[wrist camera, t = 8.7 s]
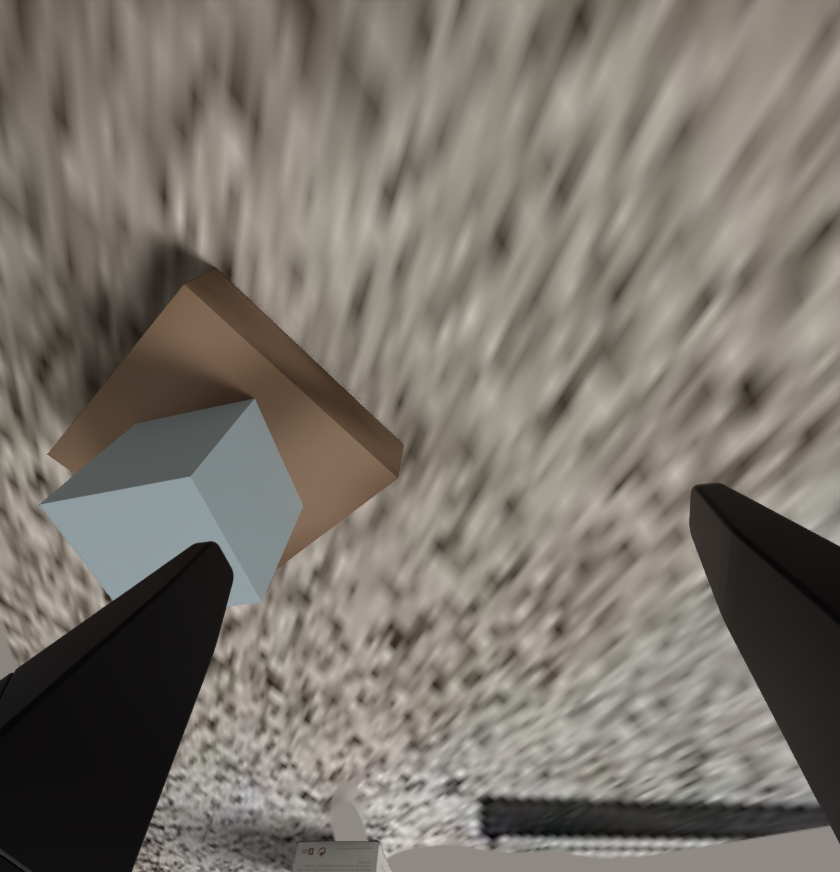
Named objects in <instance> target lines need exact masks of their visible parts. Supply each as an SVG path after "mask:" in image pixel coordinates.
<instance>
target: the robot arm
mask: <svg viewBox="0 0 840 872" xmlns="http://www.w3.org/2000/svg"><path fill="white" fill-rule="evenodd" d="M689 526H690V532H691V536H692V539H693V541H694V544H695V547H696V549H697V552H698V555H699V557H700V560H701V562H702V565H703V568H704V570H705V573H706V576H707V578H708V581H709V584H710V586H711V589H712V592H713V594H714V597H715V600H716V602H717V605H718V607H719V610H720V612H721V615H722V617H723V619H724V621H725V623H726V626H727V628H728V630H729V632H730V634H731V636H732V637H733V639H734V641H735V643H736V645H737V647H738V649H739V651H740V653H741V655H742V657H743V659H744V661H745V662H746V664H747V666H748V668H749V670H750V672H751V674H752V676H753V678H754V680H755V682H756V684H757V686H758V688H759V689H760V691H761V693H762V695H763V697H764V699H765V701H766V703H767V705H768V707H769V709H770V711H771V713H772V714H773V716H774V718H775V720H776V722H777V724H778V726H779V728H780V730H781V732H782V734H783V736H784V738H785V739H786V741H787V743H788V745H789V747H790V749H791V751H792V753H793V755H794V757H795V759H796V761H797V763H798V764H799V766H800V768H801V770H802V772H803V774H804V776H805V778H806V780H807V782H808V784H809V786H810V788H811V789H812V791H813V793H814V795H815V797H816V799H817V801H818V803H819V805H820V807H821V809H822V811H823V813H824V814H825V816H826V818H827V820H828V822H829V824H830V826H831V828H832V830H833V832H834V834H835V835H836V838H837V839H838V841H839V843H840V546H838V545H836V544H834V543H833V542H831V541H829V540H827V539H825V538H823V537H821V536H819V535H818V534H816V533H814V532H812V531H810V530H808V529H806V528H804V527H803V526H801V525H799V524H797V523H795V522H793V521H791V520H789V519H788V518H786V517H784V516H782V515H780V514H778V513H776V512H774V511H773V510H771V509H769V508H767V507H765V506H763V505H761V504H759V503H758V502H756V501H754V500H752V499H750V498H748V497H746V496H744V495H743V494H741V493H739V492H737V491H735V490H733V489H731V488H729V487H728V486H726V485H724V484H721V483H708V484H699V485H695V486H694V487H693V488H692V490H691V497H690V517H689ZM233 580H234V574H233V570H232V567H231V566H230V564H229V562H228V560H227V558H226V557H225V555H224V553H223V551H222V550H221V548H220V546H219V545H218V544H217V543H216V542H214V541H207V542H198V543H195V544H193V545H191V546H190V547H188V548H187V549H185V550H184V551H183V552H181V553H180V554H178V555H177V556H176V557H174V558H173V559H171V560H170V561H168V562H167V563H166V564H164V565H163V566H161V567H160V568H159V569H157V570H156V571H154V572H153V573H152V574H150V575H149V576H147V577H146V578H144V579H143V580H142V581H140V582H139V583H137V584H136V585H135V586H133V587H132V588H130V589H129V590H127V591H126V592H125V593H123V594H122V595H120V596H119V597H118V598H116V599H115V600H113V601H112V602H110V603H109V604H108V605H106V606H105V607H103V608H102V609H101V610H99V611H98V612H96V613H95V614H94V615H92V616H91V617H89V618H88V619H86V620H85V621H84V622H82V623H81V624H79V625H78V626H77V627H75V628H74V629H72V630H71V631H69V632H68V633H67V634H65V635H64V636H62V637H61V638H60V639H58V640H57V641H55V642H54V643H52V644H51V645H50V646H48V647H47V648H45V649H44V650H43V651H41V652H40V653H38V654H37V655H36V656H34V657H33V658H31V659H30V660H28V661H27V662H26V663H24V664H23V665H21V666H20V667H19V668H17V669H16V670H15V672H14V673H10V674H8V675H7V676H6V677H4V678H3V679H1V680H0V872H132V870H133V867H134V865H135V862H136V859H137V857H138V854H139V851H140V849H141V846H142V843H143V841H144V838H145V835H146V833H147V830H148V827H149V825H150V822H151V819H152V817H153V814H154V811H155V809H156V806H157V803H158V801H159V798H160V795H161V793H162V790H163V787H164V785H165V782H166V779H167V777H168V774H169V771H170V769H171V766H172V763H173V761H174V758H175V755H176V753H177V750H178V747H179V745H180V742H181V739H182V737H183V734H184V731H185V729H186V726H187V723H188V721H189V718H190V715H191V713H192V710H193V707H194V705H195V702H196V699H197V697H198V694H199V691H200V689H201V686H202V683H203V681H204V678H205V675H206V673H207V670H208V667H209V665H210V662H211V659H212V656H213V653H214V650H215V647H216V644H217V640H218V637H219V633H220V629H221V625H222V622H223V618H224V614H225V611H226V607H227V603H228V599H229V596H230V592H231V588H232V585H233Z"/></svg>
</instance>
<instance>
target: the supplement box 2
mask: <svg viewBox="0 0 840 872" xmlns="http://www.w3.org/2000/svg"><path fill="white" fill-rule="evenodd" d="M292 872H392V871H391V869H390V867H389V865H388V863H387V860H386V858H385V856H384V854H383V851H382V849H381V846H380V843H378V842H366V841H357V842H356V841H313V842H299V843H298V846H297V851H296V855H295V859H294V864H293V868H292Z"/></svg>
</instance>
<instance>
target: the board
mask: <svg viewBox="0 0 840 872" xmlns="http://www.w3.org/2000/svg"><path fill="white" fill-rule="evenodd" d="M250 399H255V400H256V402H257V405H258V407H259V409H260V411H261V413H262V416H263V418H264V420H265V422H266V425H267V427H268V429H269V431H270V433H271V436H272V438H273V440H274V442H275V445H276V447H277V449H278V451H279V453H280V456H281V458H282V460H283V462H284V464H285V467H286V469H287V471H288V473H289V476H290V478H291V480H292V482H293V484H294V487H295V489H296V491H297V493H298V496H299V498H300V500H301V502H302V504H303V508H302V510H301V513H300V515H299V517H298V520H297V522H296V524H295V526H294V529H293V531H292V533H291V536H290V538H289V540H288V542H287V545H286V547H285V549H284V552H283V554H282V556H281V559H280V561H279V563H278V565H277V568H279V567H280V566H281V565H283V564H284V563H285V562H287V561H288V560H289V559H291V558H292V557H293V556H295V555H296V554H297V553H299V552H300V551H301V550H303V549H304V548H305V547H307V546H308V545H309V544H311V543H312V542H313V541H315V540H316V539H317V538H319V537H320V536H321V535H323V534H324V533H325V532H327V531H328V530H329V529H331V528H332V527H333V526H335V525H336V524H337V523H339V522H340V521H341V520H343V519H344V518H345V517H347V516H348V515H349V514H351V513H352V512H353V511H355V510H356V509H357V508H359V507H360V506H361V505H363V504H364V503H365V502H367V501H368V500H369V499H371V498H372V497H373V496H375V495H376V494H377V493H379V492H380V491H381V490H383V489H384V488H385V487H387V486H388V485H389V484H391V483H392V482H393V481H395V480H396V479H397V478H398V475H399V469H400V464H401V458H402V453H403V447H404V445H403V444H402V443H401V442H400V441H399V440H398V439H397V438H396V437H394V436H393V435H392V434H391V433H390V432H389V431H388V430H387V429H386V428H385V427H384V426H383V425H382V424H381V423H380V422H379V421H378V420H376V419H375V418H374V417H373V416H372V415H371V414H370V413H369V412H368V411H367V410H366V409H365V408H364V407H363V406H362V405H361V404H359V403H358V402H357V401H356V400H355V399H354V398H353V397H352V396H351V395H350V394H349V393H348V392H347V391H346V390H345V389H344V388H343V387H341V386H340V385H339V384H338V383H337V382H336V381H335V380H334V379H333V378H332V377H331V376H330V375H329V374H328V373H327V372H326V371H325V370H323V369H322V368H321V367H320V366H319V365H318V364H317V363H316V362H315V361H314V360H313V359H312V358H311V357H310V356H309V355H308V354H306V353H305V352H304V351H303V350H302V349H301V348H300V347H299V346H298V345H297V344H296V343H295V342H294V341H293V340H292V339H291V338H290V337H288V336H287V335H286V334H285V333H284V332H283V331H282V330H281V329H280V328H279V327H278V326H277V325H276V324H275V323H274V322H273V321H272V320H270V319H269V318H268V317H267V316H266V315H265V314H264V313H263V312H262V311H261V310H260V309H259V308H258V307H257V306H256V305H255V304H254V303H252V302H251V301H250V300H249V299H248V298H247V297H246V296H245V295H244V294H243V293H242V292H241V291H240V290H239V289H238V288H237V287H235V286H234V285H233V284H232V283H231V282H230V281H229V280H228V279H227V278H226V277H225V276H224V275H223V274H222V273H221V272H220V271H219V270H217V269H215V270H212V271H210V272H208V273H206V274H204V275H202V276H200V277H198V278H196V279H194V280H192V281H190V282H188V283H185V284H184V285H183V286H182V287H181V289H180V290H179V291H178V292H177V294H176V295H175V296H174V297H173V299H172V300H171V301H170V302H169V303H168V305H167V306H166V307H165V308H164V310H163V311H162V312H161V313H160V315H159V316H158V317H157V318H156V320H155V321H154V322H153V323H152V325H151V326H150V327H149V328H148V330H147V331H146V332H145V333H144V335H143V336H142V337H141V338H140V340H139V341H138V342H137V343H136V345H135V346H134V347H133V348H132V350H131V351H130V352H129V353H128V355H127V356H126V357H125V358H124V360H123V361H122V362H121V363H120V365H119V366H118V367H117V368H116V369H115V371H114V372H113V373H112V374H111V376H110V377H109V378H108V379H107V381H106V382H105V383H104V384H103V386H102V387H101V388H100V389H99V391H98V392H97V393H96V394H95V396H94V397H93V398H92V399H91V401H90V402H89V403H88V404H87V406H86V407H85V408H84V409H83V411H82V412H81V413H80V414H79V416H78V417H77V418H76V419H75V421H74V422H73V423H72V424H71V426H70V427H69V428H68V429H67V431H66V432H65V433H64V434H63V435H62V437H61V438H60V439H59V440H58V442H57V443H56V444H55V445H54V447H53V448H52V449H51V450H50V452H49V453H48V454H47V455H49V456H50V457H51V458H53V459H54V460H56V461H57V462H59V463H60V464H61V465H63V466H64V467H66V468H67V469H69V470H70V471H72V472H73V473H74V474H76V473H77V472H79V471H80V470H81V469H82V468H83V467H85V466H86V465H87V464H88V463H89V462H91V461H92V460H93V459H94V458H95V457H96V456H98V455H99V454H100V453H101V452H102V451H104V450H105V449H106V448H107V447H108V446H110V445H111V444H112V443H113V442H114V441H115V440H117V439H118V438H119V437H120V436H121V435H123V434H124V433H125V432H126V431H127V430H129V429H130V428H131V427H132V426H133V425H134V424H136V423H141V422H146V421H151V420H155V419H160V418H165V417H169V416H174V415H179V414H184V413H188V412H193V411H198V410H203V409H207V408H212V407H217V406H222V405H226V404H231V403H236V402H241V401H245V400H250ZM277 568H276V569H277Z"/></svg>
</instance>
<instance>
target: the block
mask: <svg viewBox="0 0 840 872" xmlns="http://www.w3.org/2000/svg"><path fill="white" fill-rule="evenodd" d="M39 505H40V506H41V507H42V509H43V510H44V511H45V513H46V514H47V515H48V516H49V518H50V519H51V520H52V522H53V523H54V524H55V526H56V527H57V528H58V530H59V531H60V532H61V533H62V535H63V536H64V537H65V539H66V540H67V541H68V543H69V544H70V545H71V546H72V548H73V549H74V550H75V552H76V553H77V554H78V556H79V557H80V558H81V559H82V561H83V562H84V563H85V565H86V566H87V567H88V569H89V570H90V571H91V572H92V574H93V575H94V576H95V578H96V579H97V580H98V582H99V583H100V584H101V585H102V587H103V588H104V589H105V591H106V592H107V593H108V595H109V596H110V597H111V598H112V600H115V599H116V598H118V597H119V596H120V595H122V594H123V593H125V592H126V591H127V590H129V589H130V588H132V587H133V586H135V585H136V584H137V583H139V582H140V581H142V580H143V579H144V578H146V577H147V576H149V575H150V574H152V573H153V572H154V571H156V570H157V569H159V568H160V567H161V566H163V565H164V564H166V563H167V562H168V561H170V560H171V559H173V558H174V557H176V556H177V555H178V554H180V553H181V552H183V551H184V550H185V549H187V548H188V547H190V546H191V545H193V544H195V543H198V542H207V541H214V542H216V543H217V544H218V545H219V546H220V548H221V550H222V551H223V553H224V555H225V557H226V558H227V560H228V562H229V564H230V566H231V567H232V570H233V574H234V580H233V585H232V588H231V592H230V596H229V599H228V603H227V607H228V606H235V605H243V604H251V603H258V602H262V600H263V598H264V595H265V593H266V591H267V588H268V586H269V584H270V582H271V579H272V577H273V575H274V572H275V570H276V568H277V565H278V563H279V561H280V559H281V556H282V554H283V552H284V549H285V547H286V545H287V542H288V540H289V538H290V536H291V533H292V531H293V529H294V526H295V524H296V522H297V520H298V517H299V515H300V513H301V510H302V508H303V504H302V502H301V500H300V498H299V496H298V493H297V491H296V489H295V487H294V484H293V482H292V480H291V478H290V476H289V473H288V471H287V469H286V467H285V464H284V462H283V460H282V458H281V456H280V453H279V451H278V449H277V447H276V445H275V442H274V440H273V438H272V436H271V433H270V431H269V429H268V427H267V425H266V422H265V420H264V418H263V416H262V413H261V411H260V409H259V407H258V405H257V402H256V400H255V399H250V400H245V401H241V402H236V403H231V404H226V405H222V406H217V407H212V408H207V409H203V410H198V411H193V412H188V413H184V414H179V415H174V416H169V417H165V418H160V419H155V420H151V421H146V422H141V423H136V424H134V425H133V426H132V427H131V428H130V429H129V430H127V431H126V432H125V433H124V434H123V435H121V436H120V437H119V438H118V439H117V440H115V441H114V442H113V443H112V444H111V445H110V446H108V447H107V448H106V449H105V450H104V451H102V452H101V453H100V454H99V455H98V456H96V457H95V458H94V459H93V460H92V461H91V462H89V463H88V464H87V465H86V466H85V467H83V468H82V469H81V470H80V471H79V472H77V473H76V474H75V475H74V476H73V477H72V478H70V479H69V480H68V481H67V482H66V483H64V484H63V485H62V486H61V487H60V488H58V489H57V490H56V491H55V492H54V493H53V494H51V495H50V496H49V497H48V498H47V499H45V500H44V501H43V502H42V503H41V504H39Z"/></svg>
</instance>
